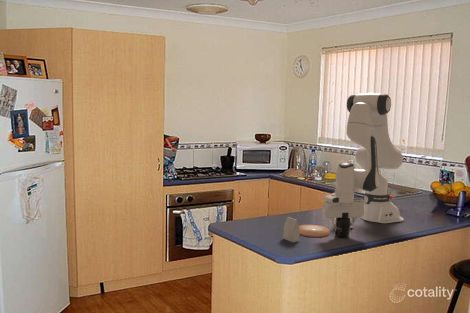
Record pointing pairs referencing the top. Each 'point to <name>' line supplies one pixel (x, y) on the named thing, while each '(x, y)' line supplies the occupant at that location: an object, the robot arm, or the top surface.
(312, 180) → the top surface
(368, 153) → the robot arm
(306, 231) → the peach rimmed plate
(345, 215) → the supplement bottle
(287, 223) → the tea bag
